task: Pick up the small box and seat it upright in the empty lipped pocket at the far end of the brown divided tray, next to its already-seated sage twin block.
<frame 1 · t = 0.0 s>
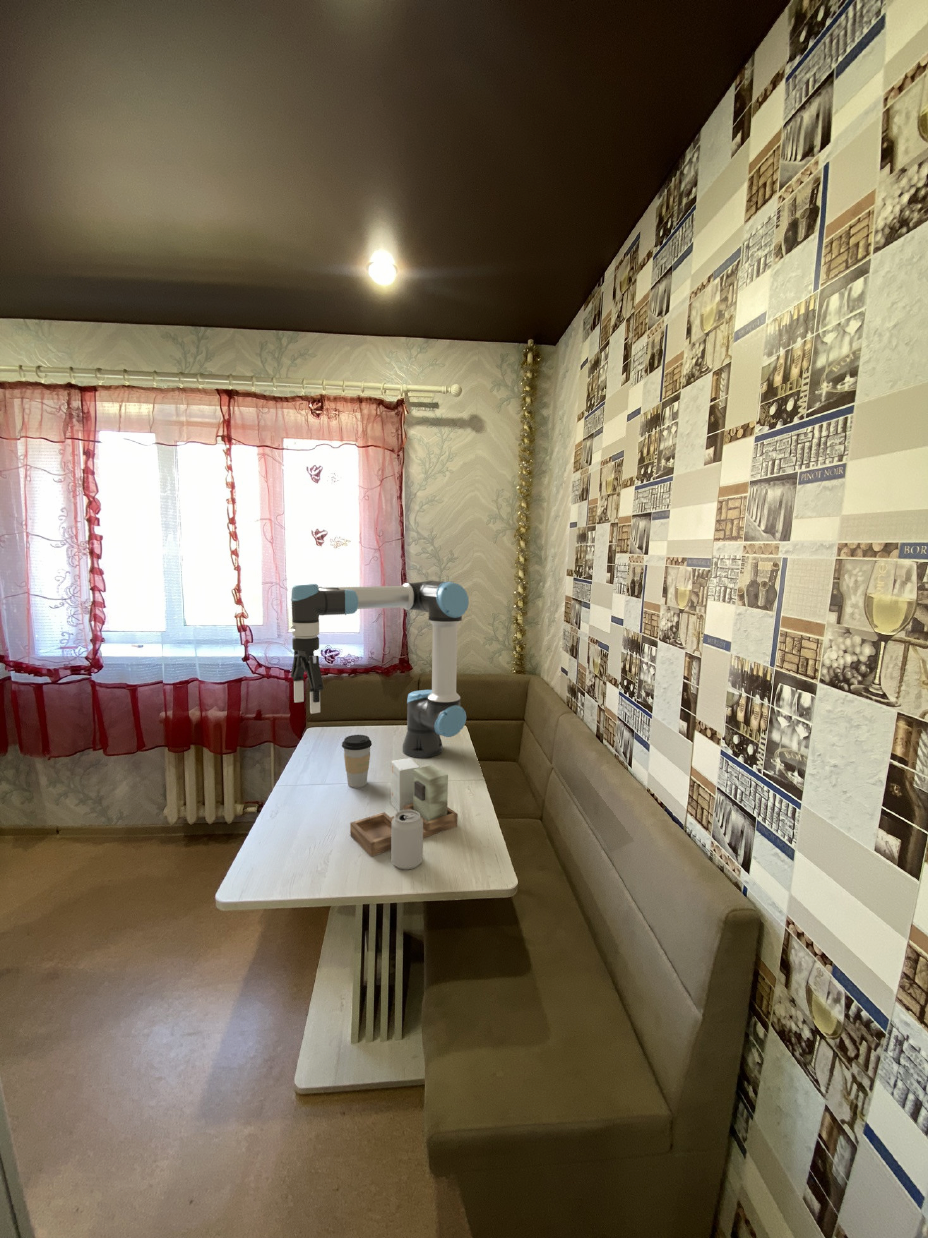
hand: (306, 707, 155), 28 cm above the table, fingers open, 13 cm apart
can: (407, 863, 125), on the table
coffee cup: (357, 784, 168), on the table
brown divided tray: (405, 830, 140), on the table
small box: (405, 807, 153), on the table
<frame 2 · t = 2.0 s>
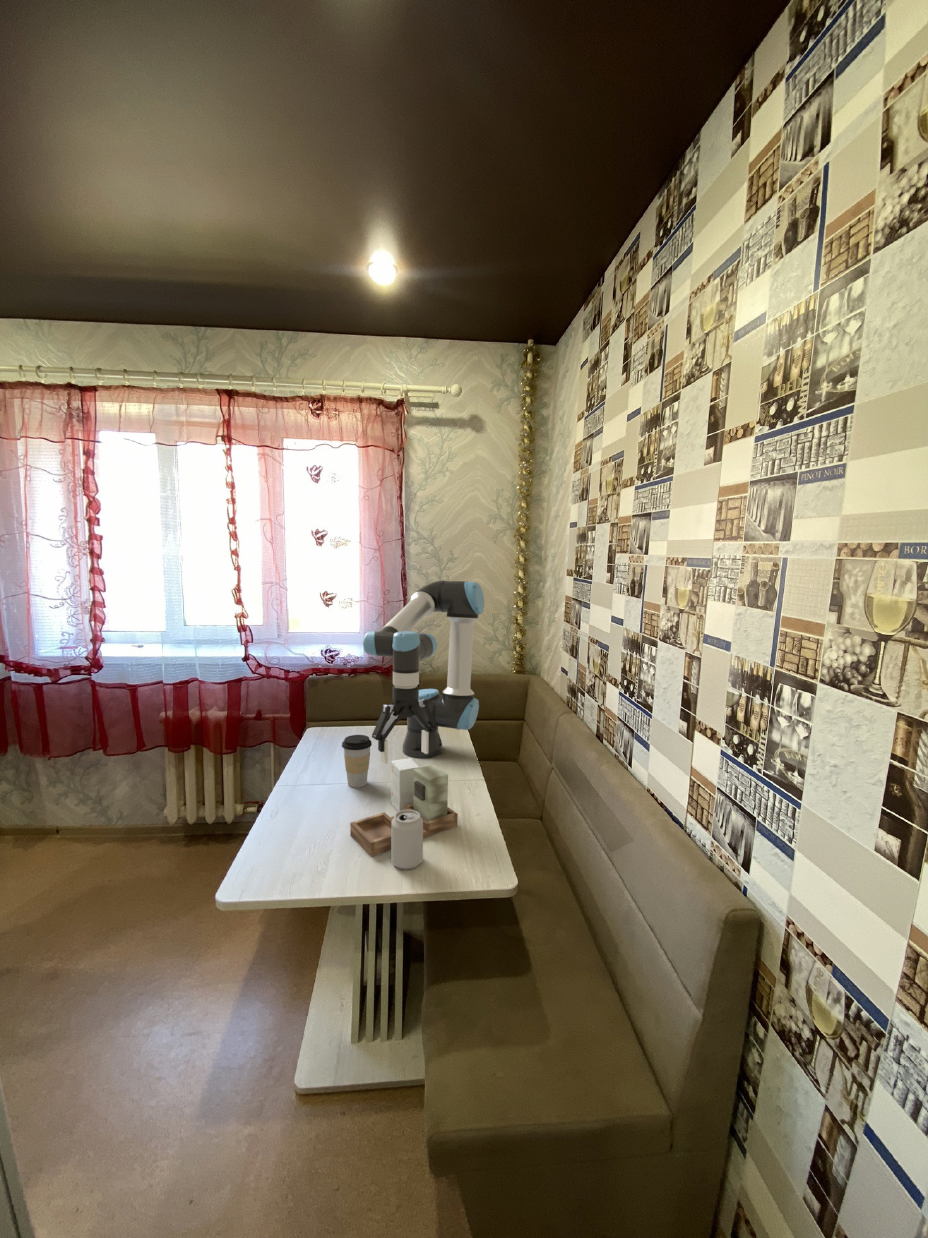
hand: (405, 757, 151), 15 cm above the table, fingers open, 13 cm apart
nothing on the table moved.
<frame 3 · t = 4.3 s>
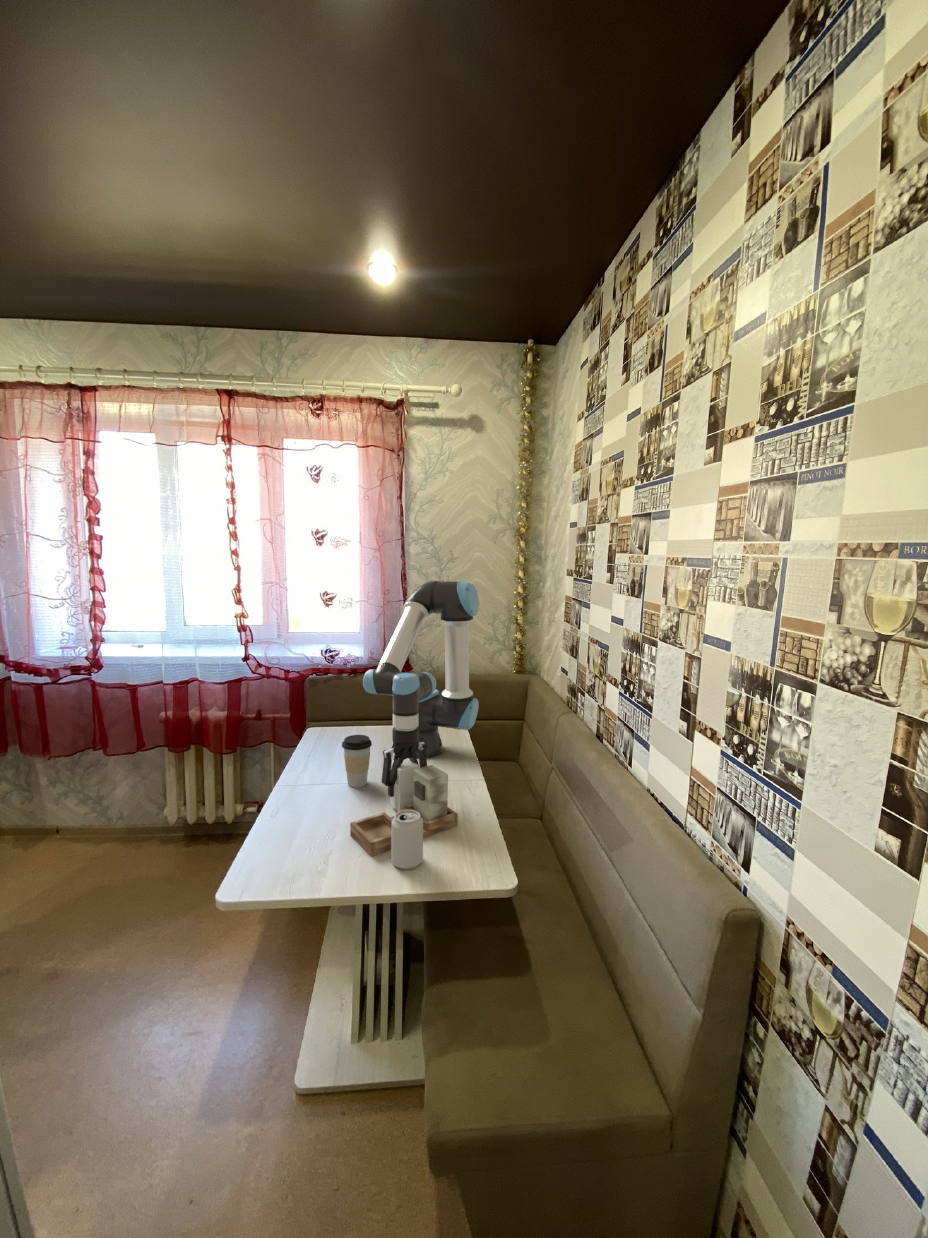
hand: (405, 802, 153), 1 cm above the table, fingers closed on small box, 7 cm apart
small box: (405, 806, 153), on the table, touching gripper
everything else where it was.
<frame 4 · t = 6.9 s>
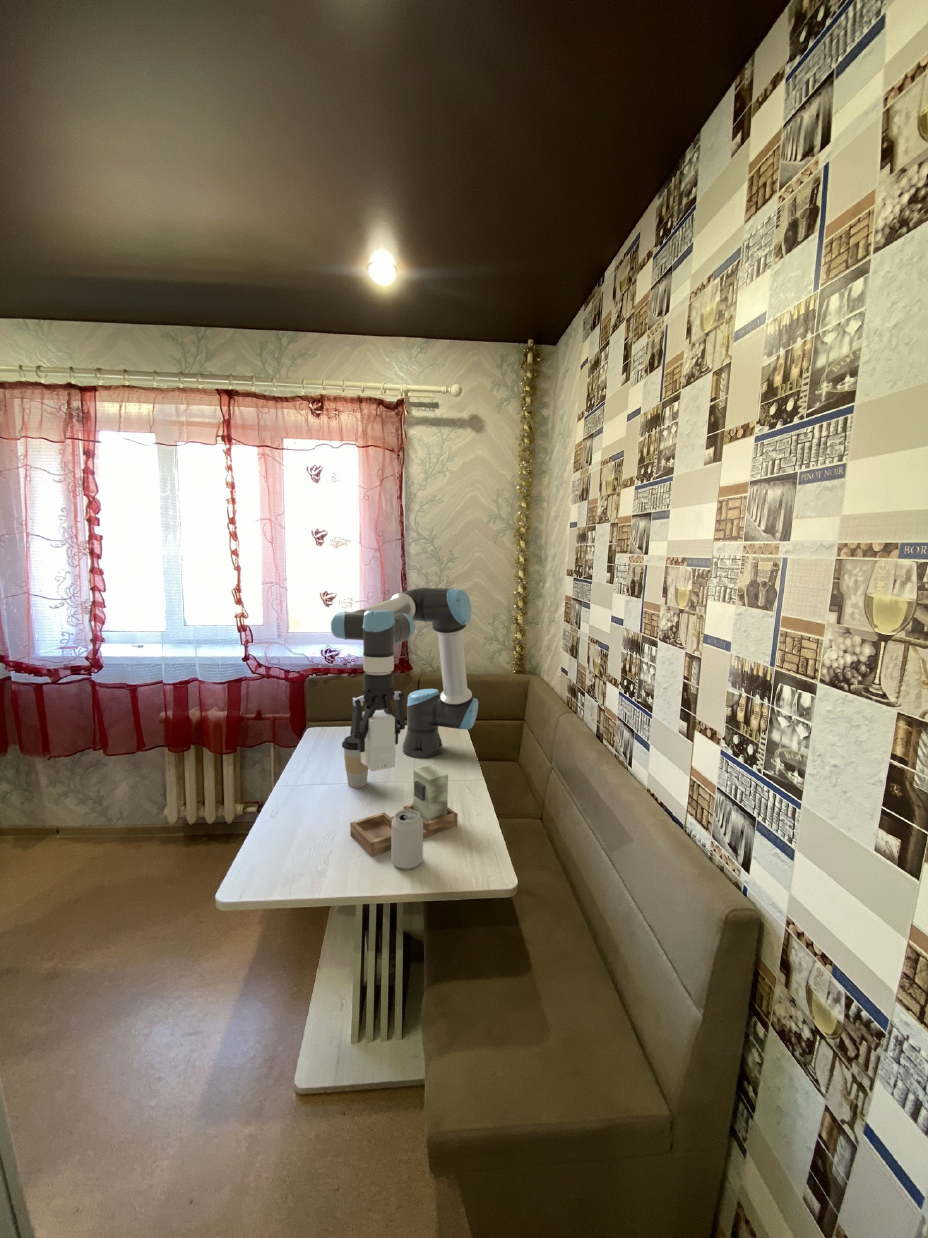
hand: (378, 760, 133), 21 cm above the table, fingers closed on small box, 7 cm apart
small box: (378, 764, 133), point 20 cm above the table, touching gripper
everything else where it was.
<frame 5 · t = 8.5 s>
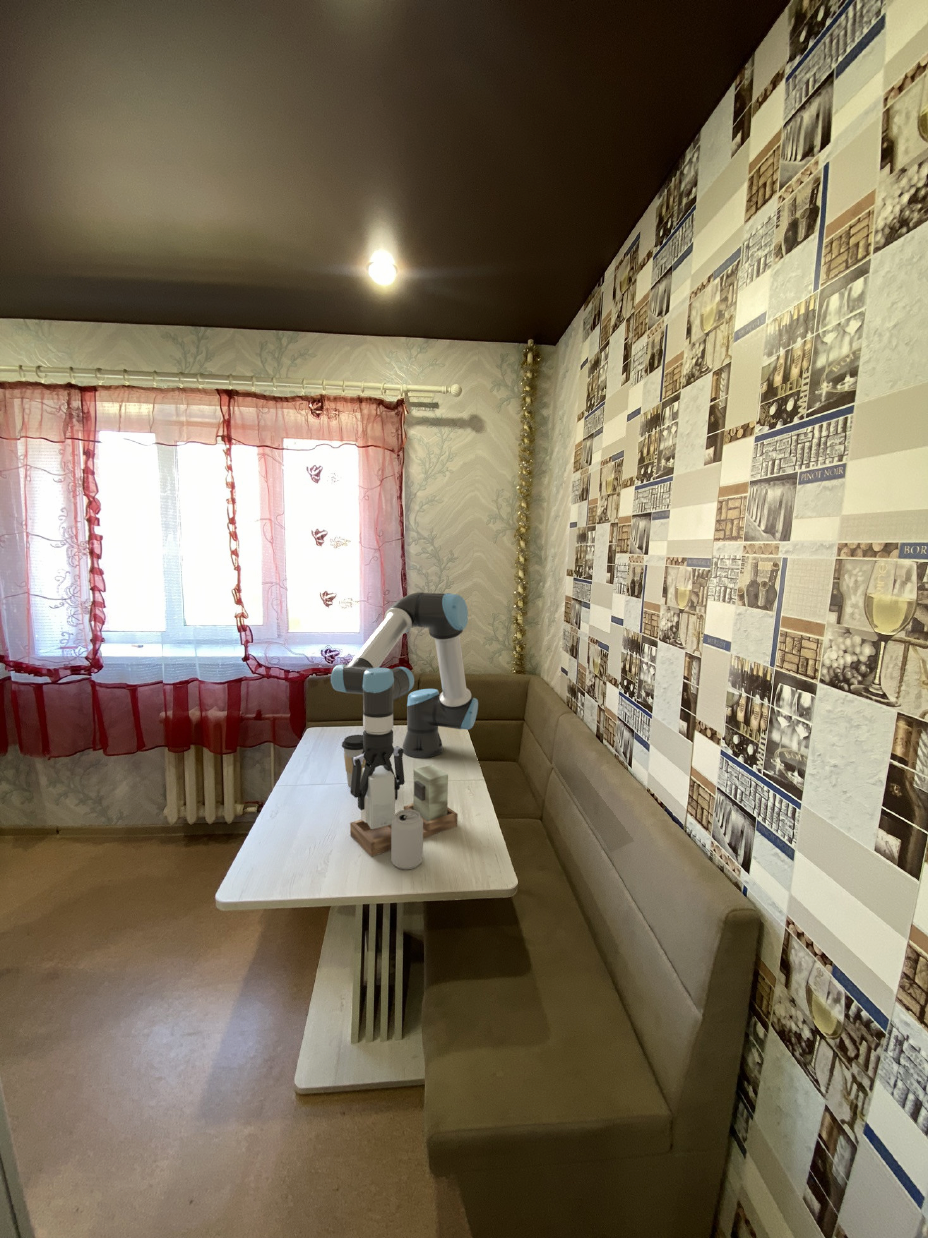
hand: (378, 816, 134), 6 cm above the table, fingers closed on small box, 7 cm apart
small box: (378, 820, 134), point 5 cm above the table, touching gripper
everything else where it was.
when the fingers open (4 cm above the table, at t = 9.7 s): small box drops 1 cm, resting on brown divided tray.
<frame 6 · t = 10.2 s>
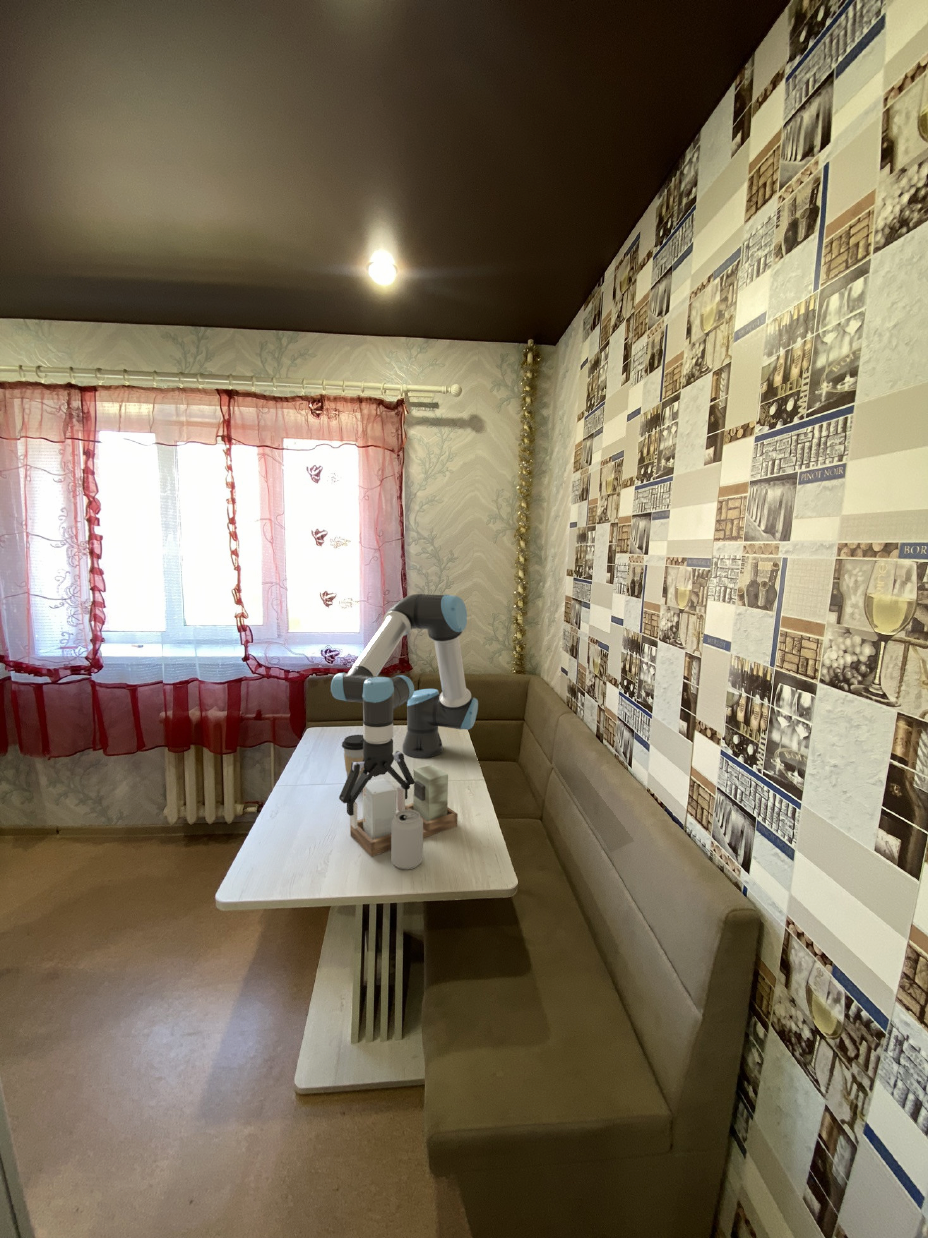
hand: (378, 818, 134), 6 cm above the table, fingers open, 13 cm apart
small box: (379, 834, 135), point 1 cm above the table, touching brown divided tray
everything else where it was.
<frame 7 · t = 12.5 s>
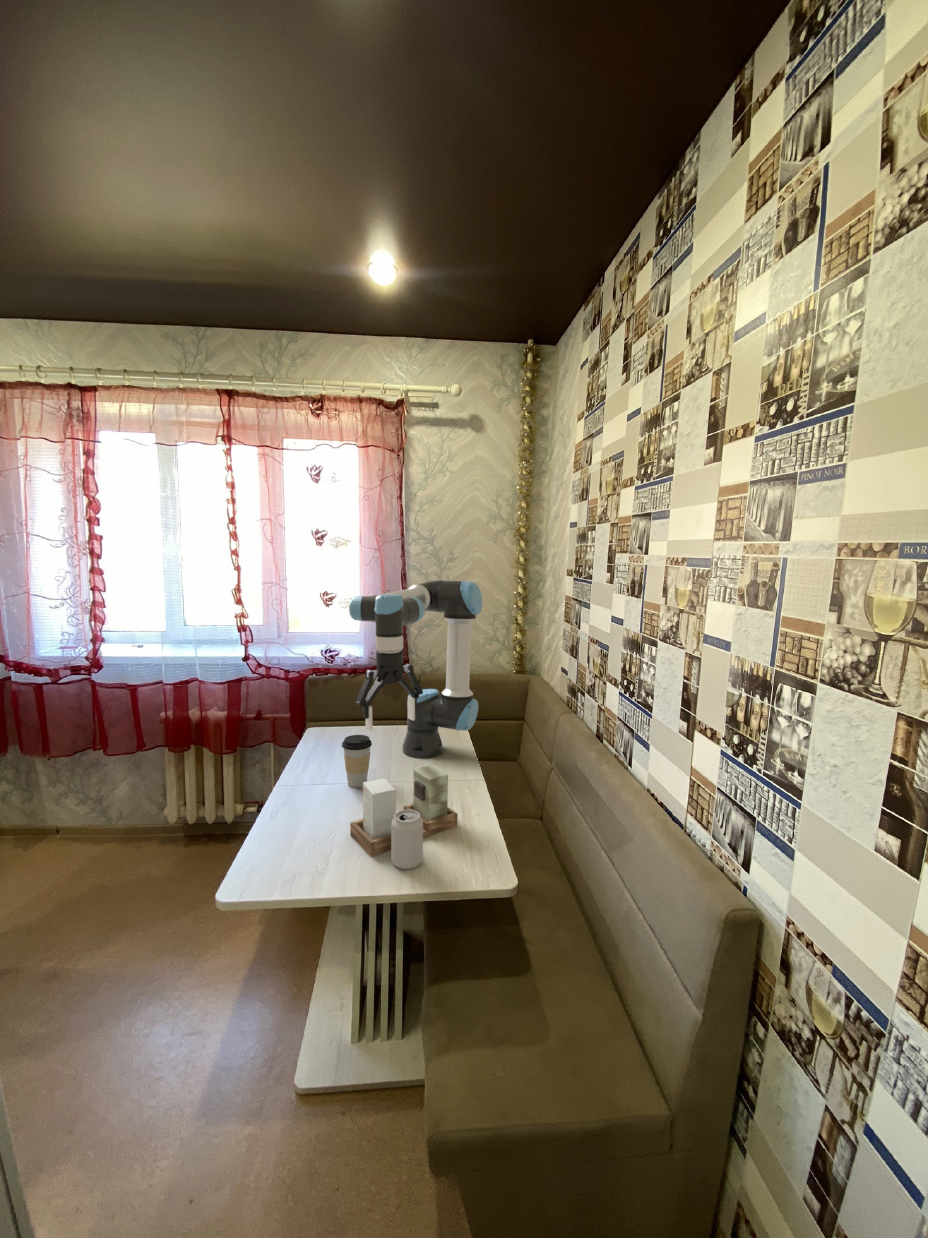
hand: (390, 724, 147), 26 cm above the table, fingers open, 13 cm apart
nothing on the table moved.
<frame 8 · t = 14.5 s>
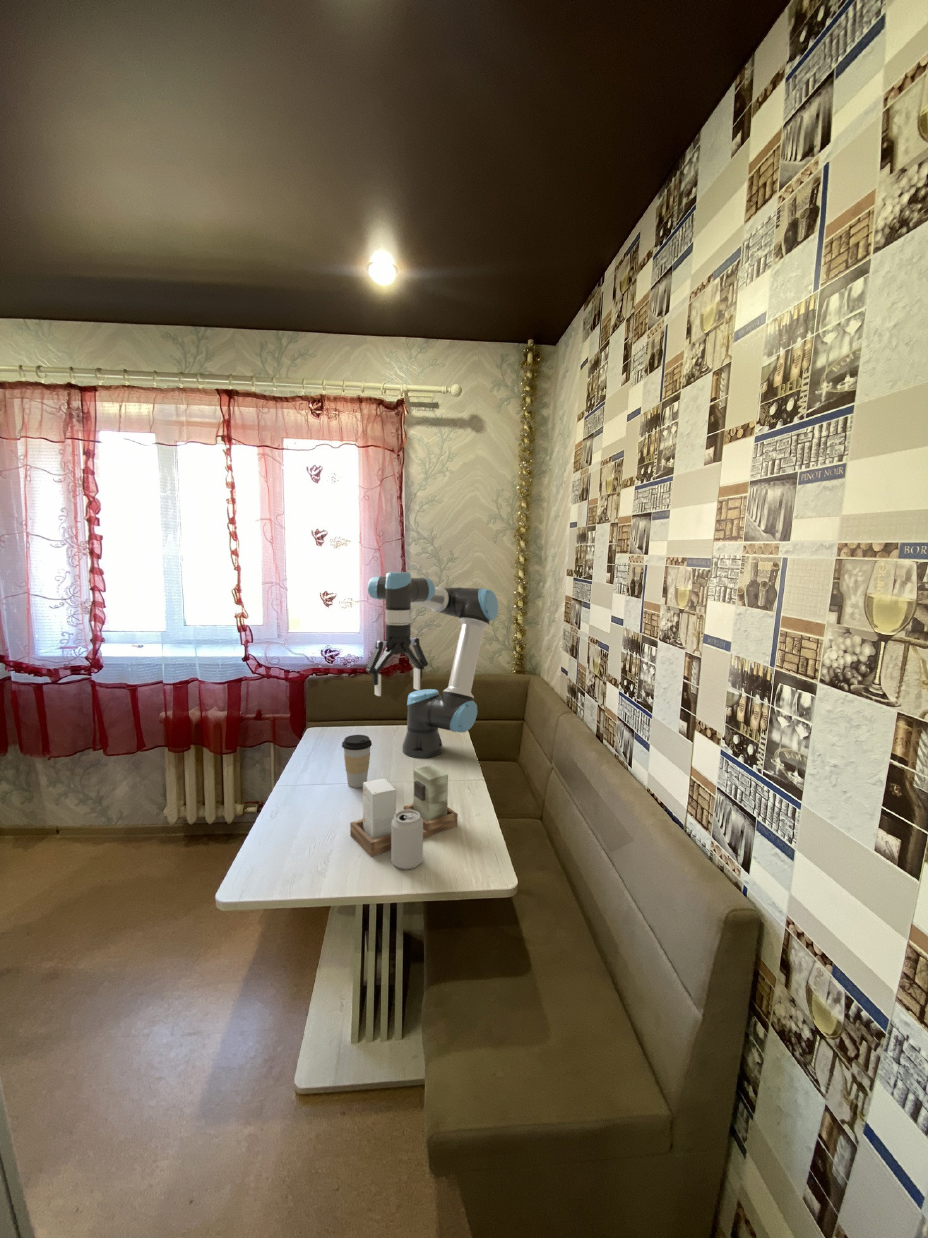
hand: (397, 692, 159), 32 cm above the table, fingers open, 13 cm apart
nothing on the table moved.
at the end: small box 0.3 cm from the target spot on the brown divided tray, point 1.3 cm above the brown divided tray's base; small box tilted 0°; the gripper is holding nothing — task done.
